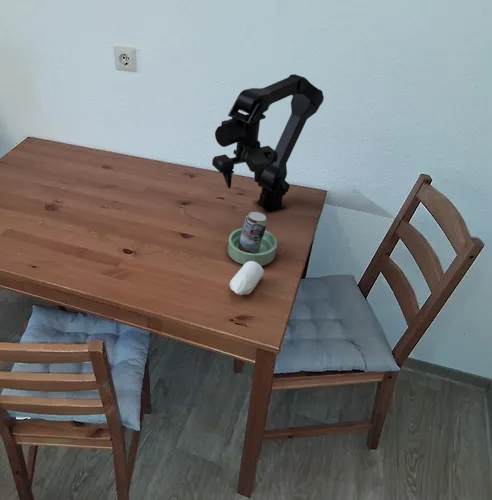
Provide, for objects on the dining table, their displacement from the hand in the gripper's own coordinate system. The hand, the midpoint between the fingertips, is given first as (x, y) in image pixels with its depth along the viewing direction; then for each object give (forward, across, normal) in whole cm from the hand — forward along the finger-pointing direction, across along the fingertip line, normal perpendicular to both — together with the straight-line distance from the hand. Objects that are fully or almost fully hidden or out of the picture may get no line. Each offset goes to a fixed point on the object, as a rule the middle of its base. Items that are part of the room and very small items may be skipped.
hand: (242, 184), depth 161 cm
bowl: (+13, -5, -16) cm, 21 cm away
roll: (+13, -15, -29) cm, 35 cm away
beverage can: (+13, -5, -16) cm, 21 cm away
